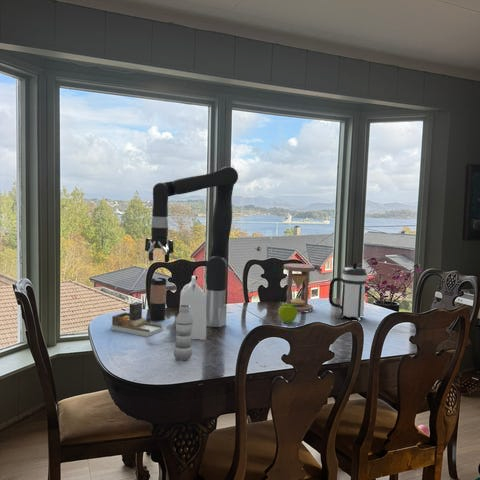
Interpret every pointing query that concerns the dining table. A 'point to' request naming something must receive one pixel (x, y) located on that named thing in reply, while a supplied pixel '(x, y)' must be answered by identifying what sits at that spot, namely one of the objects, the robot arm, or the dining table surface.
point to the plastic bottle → (183, 334)
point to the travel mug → (158, 299)
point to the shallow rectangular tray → (139, 329)
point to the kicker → (135, 315)
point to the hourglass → (299, 279)
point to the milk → (195, 307)
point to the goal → (118, 319)
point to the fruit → (287, 312)
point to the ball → (125, 319)
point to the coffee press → (351, 291)
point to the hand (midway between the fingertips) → (158, 261)
